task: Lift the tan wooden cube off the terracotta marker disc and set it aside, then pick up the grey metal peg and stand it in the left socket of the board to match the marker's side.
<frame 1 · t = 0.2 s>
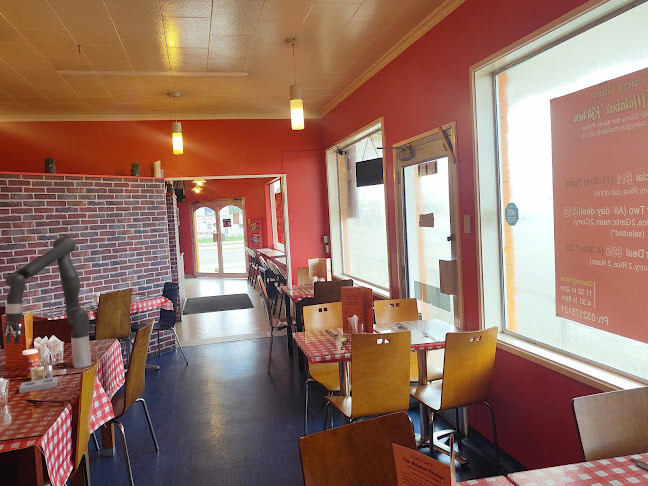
hand: (12, 343, 255), 22 cm above the table, tool pointing down, fingers open, 8 cm apart
tan wooden cube: (38, 379, 263), on the table
marker: (38, 379, 263), on the table
board: (39, 387, 249), on the table
paper cup: (32, 375, 271), on the table
peg: (49, 380, 260), on the table
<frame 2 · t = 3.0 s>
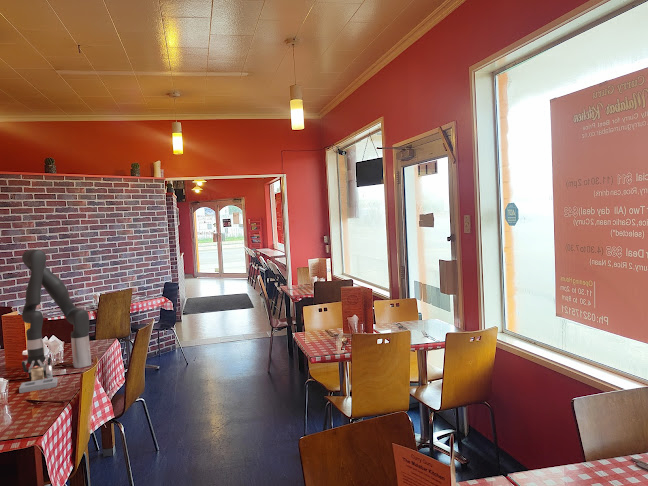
hand: (38, 377, 262), 1 cm above the table, tool pointing down, fingers closed on tan wooden cube, 5 cm apart
tan wooden cube: (38, 379, 263), on the table, touching gripper
everything else where it was.
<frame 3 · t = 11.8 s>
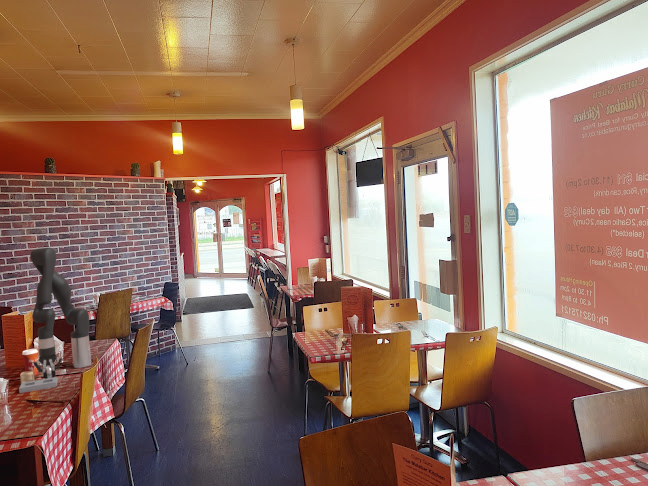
hand: (49, 378, 260), 1 cm above the table, tool pointing down, fingers closed on peg, 3 cm apart
tan wooden cube: (28, 383, 255), on the table
peg: (49, 380, 260), on the table, touching gripper
everything else where it was.
when the fingers open (3 cm above the table, at t = 16.1 s): peg drops 1 cm, resting in board.
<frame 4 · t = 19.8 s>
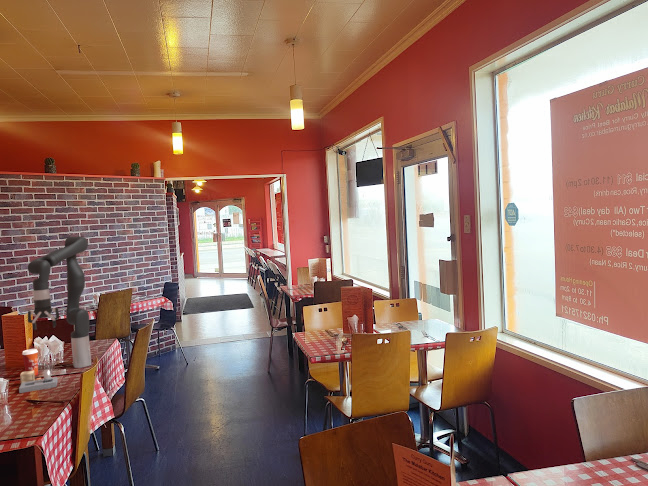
hand: (44, 328, 256), 28 cm above the table, tool pointing down, fingers open, 8 cm apart
peg: (48, 385, 251), resting in board
everything else where it was.
at the end: peg 0.0 cm from the target spot on the board, point 0.0 cm above the board's base; peg tilted 0°; tan wooden cube moved 7.2 cm from its start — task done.
